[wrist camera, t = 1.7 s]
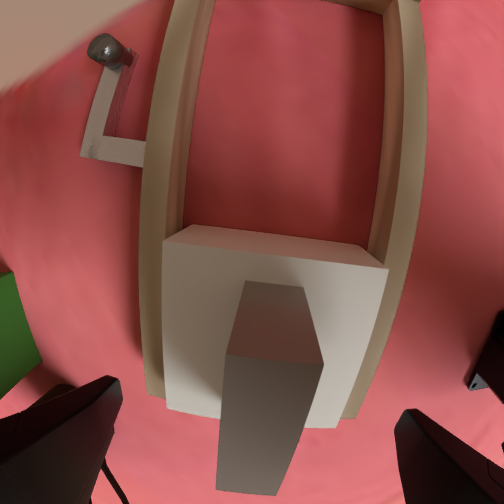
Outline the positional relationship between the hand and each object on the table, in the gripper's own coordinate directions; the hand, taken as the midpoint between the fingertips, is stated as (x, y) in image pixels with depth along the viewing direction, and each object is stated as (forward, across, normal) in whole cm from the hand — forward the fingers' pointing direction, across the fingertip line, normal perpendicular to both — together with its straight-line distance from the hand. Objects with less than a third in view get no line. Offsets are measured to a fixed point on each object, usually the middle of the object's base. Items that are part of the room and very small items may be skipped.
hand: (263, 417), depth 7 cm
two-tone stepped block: (+7, 0, 0) cm, 7 cm away
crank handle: (+7, +8, -10) cm, 15 cm away
